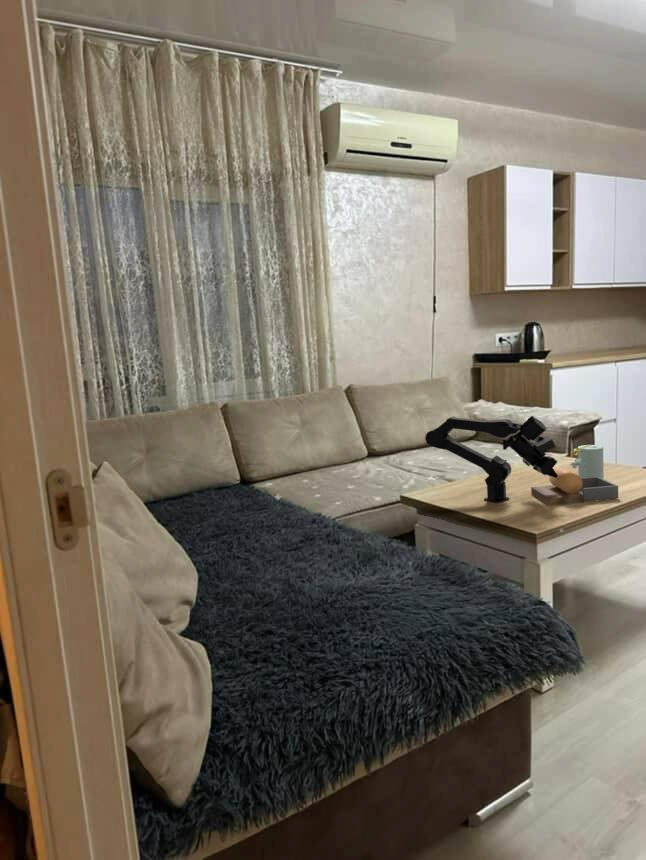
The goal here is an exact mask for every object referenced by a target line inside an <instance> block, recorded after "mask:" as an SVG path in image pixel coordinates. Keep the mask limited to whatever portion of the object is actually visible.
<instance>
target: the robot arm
mask: <svg viewBox="0 0 646 860" xmlns="http://www.w3.org/2000/svg"><path fill="white" fill-rule="evenodd" d="M453 430H461V431H463V430H464V431H471V432H481V433H486V434H488V435H491V436H493V437H498V438H501V439H502V449H503V450H504V451H505V450H507V449H508V448H510V449H511V450H513V451H514V452H515V453H516V454H517V455H518V456H519V457H520V458H521V459H522V463H524V464H525V465H526V466H527V467H530V466H531V467H532V469H533V470H535V471H537V473H540V474H541V475H543V476H552V477H555V478H556V477H557V476H558V475H557V474H556V472H555V471H554V469H555V468H554V467H555V466H556V465H557V464H558V460H556V459H555V458H554V457H552V456H550V455H549V456H548V455H547V456H546V454H547V452H548V451H550V450H552V449H555V448H556V446H557V445H556V444H555V442H554V439H553V438H552V437H549V436H547V437H546V436H544V437H543V436H542V434H543V433H545V432H546V431H547V427H546V425H545V424H544V423H543V422H542V421H541V420H540V419H538V418H536V417H535V416H533V415H530V416H529V417H528V418H527V420H526V421H525V422H524V423H523V424H520V423H515V422H513V421H511V420H510V419H508V418H501V419H500V418H498V419H493V420H483V419H482V420H481V419H473V418H464V417H457V416H450V417H448V418H447V419H446V420H445V421H444V422H443V423H442V424H441V425H439V426H438V427H436V428H433V429H431V430H430V431H428V432H427V433H425V438H424V439H425V442H426V444H427V445H428V446H430V447H433V448H436V449H440V450H446V451H448V452H450V453H452V454H454V455H456V456H458V457H460V458H462V459H464V460H465V461H468V462H469V463H472V465H473V464H474V465H475V466H477V467H479V468H480V469H482V470H483V471H484V472H485V474H487V475H488V476H487V477H486V478H484V482H485V485H486V489H487V490H486V492H487V493H486V494H487V497H484V498H483V500H484V501H487V502H494V503H497V504H498V503H502V502H505V501H508V500H510V497H508V496H507V487H506V486H507V485H506V479H507V478H508V477H509V476H510V475H511V473H512V467H511V464H510V463H509V462H507V459H504V458H502V457H500V456H499V455H495V456H494V457H489V456H487V455H484V454H482V453H481V452H479V451H477V450H474V449H472V448H471V447H468V446H466V445H465V444H463V443H461V442H459V441H457V440H455V439H453V438H452V436H451V435H450V433H451V432H452V431H453ZM508 436H509V437H508ZM507 437H508V438H507ZM503 438H504V439H503ZM505 438H507V439H505ZM530 440H532V441H536V442H535V443H532V442H531V441H530Z"/></svg>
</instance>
